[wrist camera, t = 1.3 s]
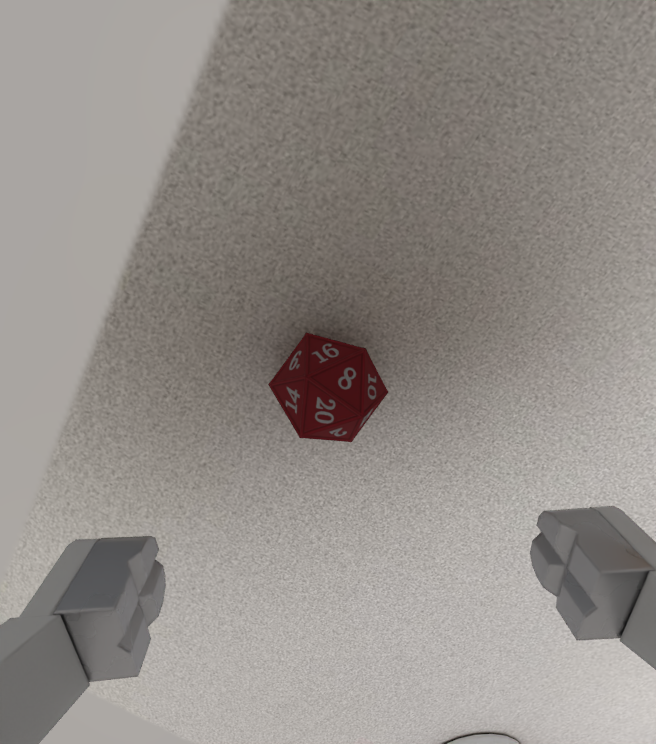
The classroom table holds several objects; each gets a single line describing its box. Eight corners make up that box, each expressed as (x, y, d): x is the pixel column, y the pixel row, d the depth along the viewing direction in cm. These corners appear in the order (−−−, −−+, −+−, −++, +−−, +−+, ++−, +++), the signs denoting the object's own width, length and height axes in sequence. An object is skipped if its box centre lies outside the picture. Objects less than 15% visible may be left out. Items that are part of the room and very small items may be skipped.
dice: (274, 318, 15) (266, 356, 12) (386, 328, 16) (411, 367, 12) (269, 403, 17) (261, 460, 13) (371, 409, 17) (391, 466, 14)
